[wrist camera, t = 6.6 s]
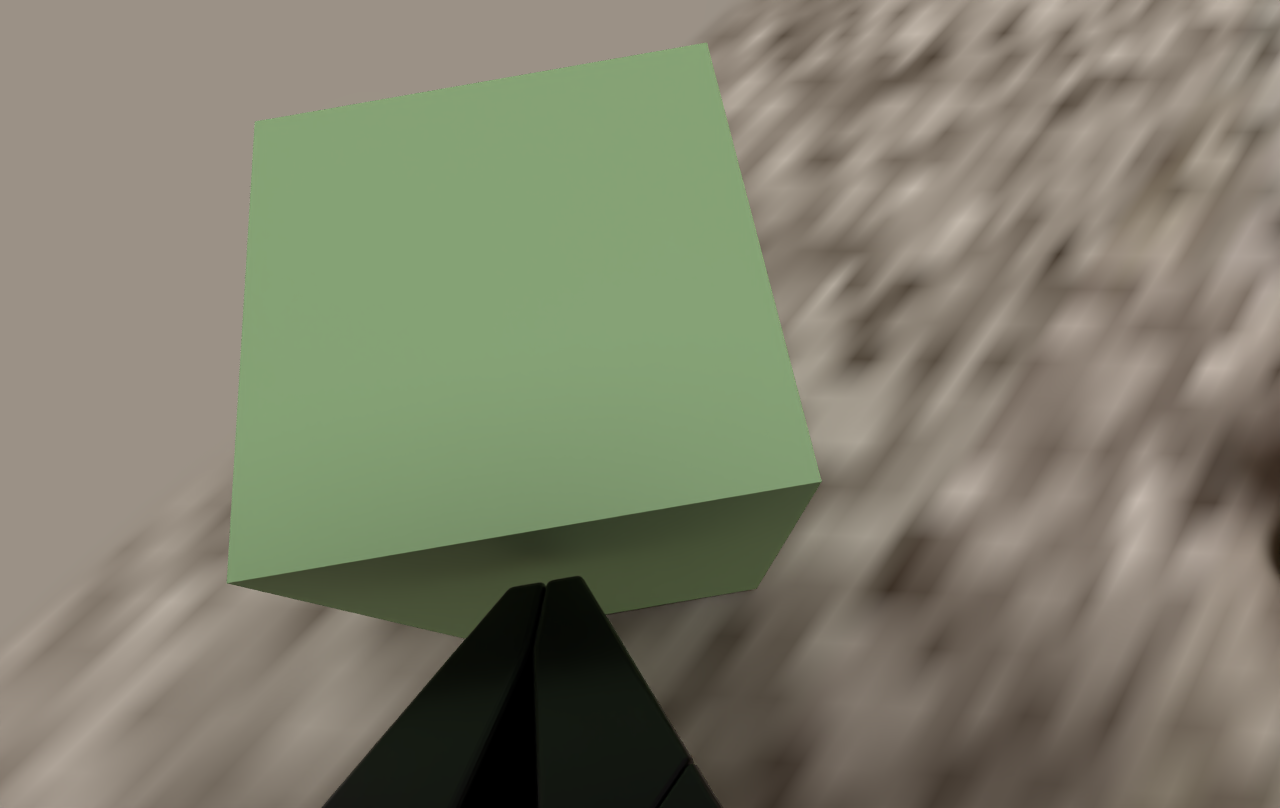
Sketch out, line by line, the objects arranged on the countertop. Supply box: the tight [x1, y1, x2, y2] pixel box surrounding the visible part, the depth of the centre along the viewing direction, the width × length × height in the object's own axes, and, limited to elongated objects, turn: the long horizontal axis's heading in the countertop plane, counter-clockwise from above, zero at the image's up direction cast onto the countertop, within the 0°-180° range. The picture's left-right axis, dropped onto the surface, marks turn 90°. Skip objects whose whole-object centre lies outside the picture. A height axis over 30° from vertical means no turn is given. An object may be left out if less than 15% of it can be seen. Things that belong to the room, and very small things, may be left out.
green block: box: [227, 43, 822, 638], centre depth 12 cm, size 6×6×8 cm
